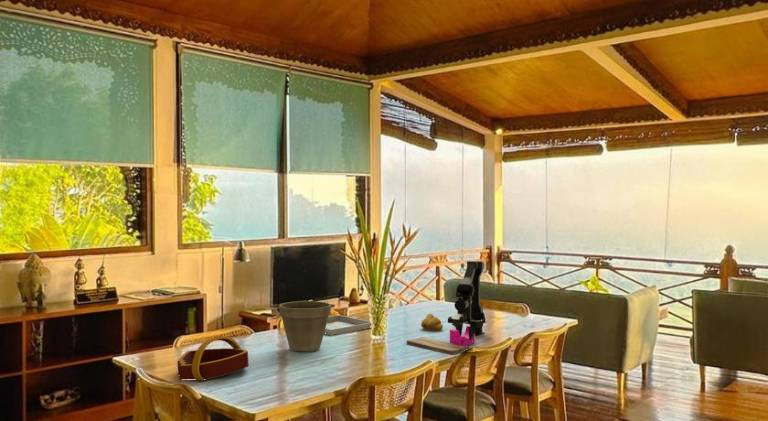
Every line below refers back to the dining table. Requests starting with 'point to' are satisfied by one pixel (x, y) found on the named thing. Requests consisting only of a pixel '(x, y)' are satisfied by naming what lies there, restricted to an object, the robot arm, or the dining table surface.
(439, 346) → the walnut board
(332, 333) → the slate tray rim
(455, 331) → the toy block
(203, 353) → the decorative basket
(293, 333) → the plant pot
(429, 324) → the bread roll
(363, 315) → the dining table surface
